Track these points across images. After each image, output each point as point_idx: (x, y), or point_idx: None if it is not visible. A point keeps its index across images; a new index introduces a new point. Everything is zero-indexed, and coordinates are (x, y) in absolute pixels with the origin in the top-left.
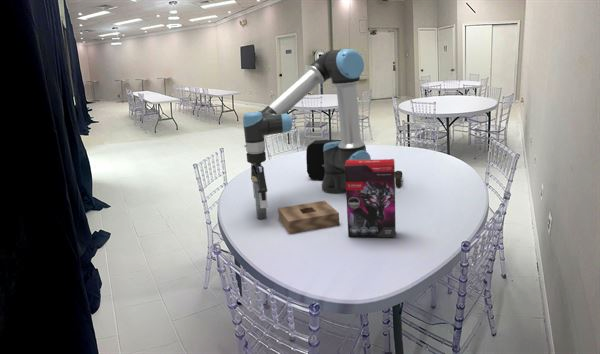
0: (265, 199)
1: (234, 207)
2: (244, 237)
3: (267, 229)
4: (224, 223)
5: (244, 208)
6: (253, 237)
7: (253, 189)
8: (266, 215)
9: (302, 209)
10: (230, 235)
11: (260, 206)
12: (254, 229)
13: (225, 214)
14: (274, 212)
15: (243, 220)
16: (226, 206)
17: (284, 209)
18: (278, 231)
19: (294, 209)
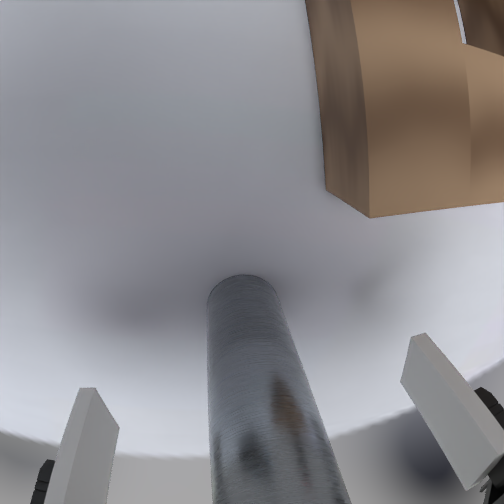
0: (487, 393)
1: (44, 413)
2: None
3: (437, 276)
4: None
5: (53, 381)
6: (469, 332)
7: (106, 499)
8: (256, 285)
9: (452, 14)
10: (400, 411)
11: (409, 389)
12: (402, 338)
13: (137, 449)
14: (148, 209)
15: None
16: (37, 432)
17: (430, 163)
18: (480, 222)
19: (459, 78)
